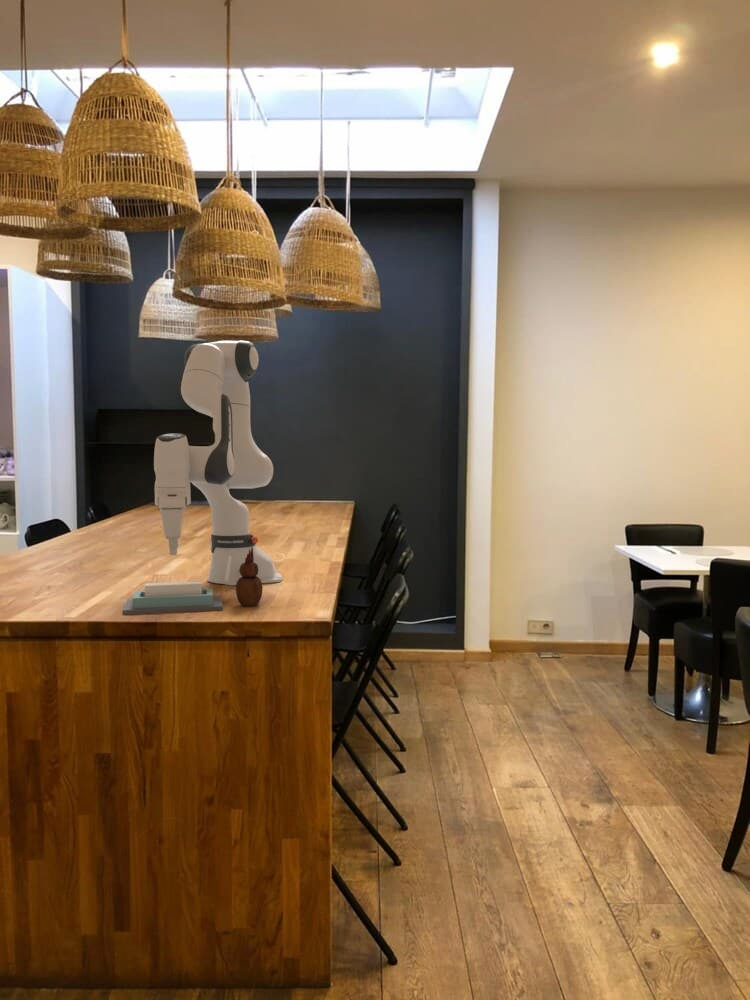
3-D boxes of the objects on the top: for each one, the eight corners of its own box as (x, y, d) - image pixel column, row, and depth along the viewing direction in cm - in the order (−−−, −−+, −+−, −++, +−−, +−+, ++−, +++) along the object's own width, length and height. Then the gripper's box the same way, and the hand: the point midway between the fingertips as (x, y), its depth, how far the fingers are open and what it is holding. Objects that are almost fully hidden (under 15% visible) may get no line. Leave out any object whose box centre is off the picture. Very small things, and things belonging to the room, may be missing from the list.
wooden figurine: (251, 601, 202) (251, 545, 201) (266, 604, 199) (266, 547, 197) (231, 605, 197) (231, 548, 196) (246, 608, 193) (246, 550, 192)
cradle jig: (220, 599, 204) (220, 586, 204) (222, 610, 192) (222, 596, 192) (127, 603, 199) (127, 589, 199) (122, 614, 186) (122, 600, 186)
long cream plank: (201, 600, 199) (201, 581, 198) (202, 602, 195) (201, 583, 195) (145, 602, 195) (145, 583, 195) (145, 605, 192) (144, 585, 192)
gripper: (161, 494, 203) (162, 545, 204) (158, 502, 183) (159, 558, 184) (186, 493, 204) (187, 544, 205) (185, 501, 184) (186, 557, 186)
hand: (173, 551), depth 195 cm, fingers open, 8 cm apart
